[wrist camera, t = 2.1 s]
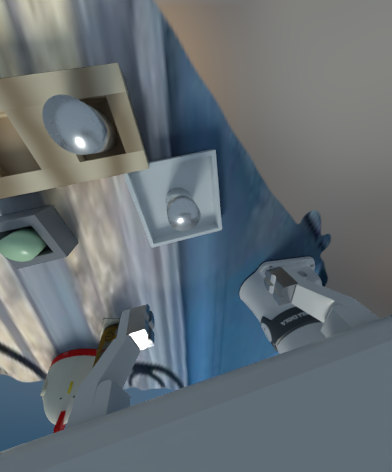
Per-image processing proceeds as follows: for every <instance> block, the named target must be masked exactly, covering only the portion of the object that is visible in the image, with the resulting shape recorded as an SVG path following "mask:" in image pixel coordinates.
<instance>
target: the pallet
mask: <svg viewBox="0 0 392 472" xmlns="http://www.w3.org/2000/svg"><path fill="white" fill-rule="evenodd" d="M61 94H62V95H69V96H72V97H74V98H76V99H78V100H80V101H82V102H83V103H85V104H87V105H89V106H91V107H92V108H94V109H96V110H98V111H99V112H101V113H103V114H104V115H106V116H107V117H108V118H109V119H110V120H111V121H112V123H113V124H114V126H115V128H116V131H117V143H116V145H115V147H114V148H113V149H112V150H110V151H107V152H101V153H93V154H86V155H78V154H74V153H71V152H68V151H66V150H65V149H63V148H62V147H60V146H59V145H58V144H57V143H56V142H55V141H54V140H53V139H52V138H51V136H50V135H49V133H48V132H47V130H46V128H45V125H44V122H43V117H42V111H43V107H44V104H45V102H46V101H47V100H48V99H49V98H50V97H52V96H55V95H61ZM148 162H149V161H148V157H147V154H146V151H145V147H144V144H143V140H142V137H141V134H140V130H139V127H138V123H137V120H136V116H135V113H134V110H133V106H132V103H131V99H130V96H129V93H128V89H127V86H126V82H125V79H124V76H123V73H122V71H121V69H120V67H119V65H118V63H112V64H105V65H97V66H90V67H82V68H75V69H67V70H60V71H53V72H45V73H38V74H30V75H23V76H16V77H8V78H1V79H0V199H2V198H7V197H12V196H17V195H22V194H27V193H32V192H37V191H42V190H47V189H52V188H56V187H61V186H66V185H71V184H76V183H81V182H86V181H91V180H96V179H101V178H106V177H111V176H115V175H120V174H125V173H130V172H135V171H140V170H145V169H149V166H148Z"/></svg>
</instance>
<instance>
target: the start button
mask: <svg viewBox="0 0 392 472" xmlns="http://www.w3.org/2000/svg"><path fill="white" fill-rule="evenodd" d="M46 246H47V244H46V243H45V241H44V240H43V239H42V238H41V237H40V235H39V234H38V233H37V232H36V230H35V229H34V228H33V227H21V228H19V229H18V230H16V231H14V232H13V233H11V234H9V235H8V236H6V237H4V238H3V239H1V240H0V253H1V254H2V255H3V256H5V257H6V258H8V259H11V260H14V261H20V262H25V261H30V260H32V259H33V258H34V257H35V256H36V255H38V254H39V253H40V252H41V251H42V250H43V249H44V248H45V247H46Z"/></svg>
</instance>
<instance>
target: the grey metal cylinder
mask: <svg viewBox="0 0 392 472" xmlns="http://www.w3.org/2000/svg"><path fill="white" fill-rule="evenodd" d="M165 202H166V209H167V217H168V221H169V224H170V225H171V226H172V227H173V228H174V229H176V230H178V231H189V230H191V229H193V228H194V227H196V226H197V224H198V223H199V221H200V217H201V213H200V209H199V208H198V206H197V204H196V203H195V201H194V200H193V198H192V197H191V195H190V194H189V192H188V191H187V190H185V189H183V188H179V187H177V188H173V189H171V190H170V191H169V192H168V193H167V195H166V198H165Z"/></svg>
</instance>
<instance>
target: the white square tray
mask: <svg viewBox="0 0 392 472" xmlns="http://www.w3.org/2000/svg"><path fill="white" fill-rule="evenodd" d="M148 166H149V169H145V170H140V171H135V172H130V173H125V174H123V175H124V178H125V181H126V183H127V186H128V188H129V191H130V193H131V196H132V199H133V201H134V204H135V206H136V209H137V211H138V214H139V217H140V219H141V222H142V224H143V227H144V229H145V232H146V235H147V237H148V240H149V242H150V245H151V247H156V246H160V245H164V244H168V243H172V242H176V241H180V240H184V239H188V238H192V237H196V236H200V235H204V234H208V233H212V232H216V231H220V230H222V223H221V210H220V198H219V185H218V173H217V161H216V150H211V149H210V150H205V151H200V152H195V153H190V154H185V155H180V156H175V157H170V158H165V159H160V160H155V161H150V162H148ZM177 187H179V188H183V189H185V190H187V191H188V192H189V194H190V195H191V197H192V198H193V200H194V201H195V203H196V204H197V206H198V208H199V209H200V213H201V217H200V221H199V223H198V224H197V226H196V227H194V228H193V229H191V230H189V231H178V230H176V229H174V228H173V227H172V226H171V225H170V224H169V221H168V217H167V209H166V202H165V198H166V195H167V193H168V192H169V191H170V190H171V189H173V188H177Z"/></svg>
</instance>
